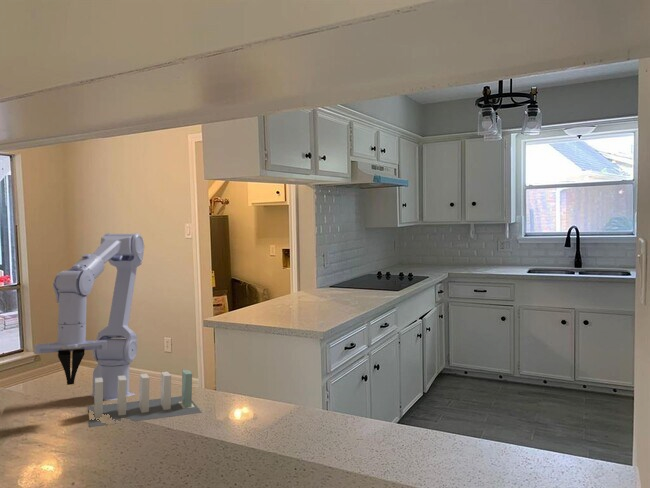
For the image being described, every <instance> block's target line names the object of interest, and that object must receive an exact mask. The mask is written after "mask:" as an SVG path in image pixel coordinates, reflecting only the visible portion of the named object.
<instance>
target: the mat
mask: <svg viewBox="0 0 650 488" xmlns="http://www.w3.org/2000/svg"><path fill="white" fill-rule="evenodd" d="M88 410H91V411H93V412H94V405H92V406H91V405H90V406H87V411H88ZM202 413H203V412H202V411H201V410H200V408H199V407H198V405H196V403H195V402H194V401H193V400H192V407H184V405H183V403H182V395H181V396H171V409H168V410H163V408H162V406H161V398H155V399H154V398H152V399H149V412H144V413H141V410H140V408H139V400H135V401H126V415H118V411H117V403H109V404H103V411H102V414H104V415H105V414H106V415H107V414H109V415H110V418H111V417H112V420H113V419H115V420H114V421H115V422H116V420H118V421H121V418H126V419H130V420H131V421H134V422H140V421H141V422H142V421H146V420H148V421H149V420H156V419H163V418H164V419H165V418H172V417H180V416H186V415H193V414H194V415H195V414H202ZM93 415H94V414H93ZM97 420H99V419H97ZM97 420H96V418H95V419H94V420H92V419H91V420H89V419H88V428H94V427H102V426H109V425H108V424H106V423H101V421H100V420H99V421H97ZM114 425H117V424H116V423H115V424H114Z"/></svg>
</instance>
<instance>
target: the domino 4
mask: <svg viewBox="0 0 650 488" xmlns="http://www.w3.org/2000/svg"><path fill="white" fill-rule="evenodd" d="M160 374H161V375H160V378H161V379H160V399H161V406H162V408H163V410H168V409H171V397H172V374H170V373H169V371H162V372H161V373H160Z"/></svg>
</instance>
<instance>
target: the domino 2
mask: <svg viewBox="0 0 650 488" xmlns="http://www.w3.org/2000/svg"><path fill="white" fill-rule="evenodd" d="M126 390H127V379H126V377H125V375H124V376H118V391H117V399H116V401H117V402H116V404H117V411H118V415H126V402H127V397H126Z"/></svg>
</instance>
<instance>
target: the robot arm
mask: <svg viewBox="0 0 650 488" xmlns="http://www.w3.org/2000/svg"><path fill="white" fill-rule="evenodd" d="M143 238H144V237H143V236H142V235H141V234H140V233H138V232H136V233H109V232H107V233H105V234H104V235H103V236H102V237H101V238H100V245H99V246H98V247H97V249H96V250H94V252H93V253H84V254H83V255H82V256H81V258H80V259H79V260H78V261H77V262H76V263H74V264H73V265H72V266H71V267H70V268H69V269H68V270H62V271H60V272H59V273H57V274H56V276H55V277H54V281H53V282H52V288H53V291H54V294H55V301H56V303H57V304H58V312H57V313H58V316H57V341H56V342H47V343H46V342H45V343H35V344H34V349H33V350H34V351H33V352H34V353H33V354H34V355H40V354H49V353H57V357H58V360H59V361H60V363H61V366H62V368H63V371H64V374H65V378H66V385H71V386H72V385H75V381H76V375H77V372H78V369H79V366H80V364H81V362H82V359H83V358H84V357H85V356H84V355H85V351H92V356H93V358H94V360H95V361H96V362H97V364H96V366H95V367H94V369H93V371H92V393H91V394H89V396H90V397H93V398H94V393H95V378H102V379H103V400H106V401H111V402H112V401H115V400H117V391H118V376H124V375H125V377H126V379H127V390H126V398H127V397H131V396H134V395H136V393H135V392H130V364H131V363H132V362H133V361H134V359H135V358H136V357H137V353H138V344H137V343H138V341H137V340H138V336H137V334H136V332H134V331H133V329H132V328H130V327H129V322H130V318H131V317H130V316H131V311H132V302H133V296H134V290H135V283H136V276H137V270H138V268H139V267H140V266H141V265H142V264H143V259H144V253H145V242H144V239H143ZM107 262H108V263H109V264H110V265H111V266H113V267H115V268H116V276H115V282H114V287H113V292H112V293H113V295H112V300H111V306H110V313H109V318H108V323H107V326H106V327H104V328H103V329H101V330H100V331H98V333H97V337H96V340H86V339H87V302H88V301H87V300H88V297H87V296H88V295H90V294H91V292H92V289H93V287H94V284H95V282H96V281H95V280H96V279H97V278H98V277H99V276H100V275H101V274H102V273H103V272H104V270H105V264H106V263H107ZM71 352H72V354H71Z"/></svg>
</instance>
